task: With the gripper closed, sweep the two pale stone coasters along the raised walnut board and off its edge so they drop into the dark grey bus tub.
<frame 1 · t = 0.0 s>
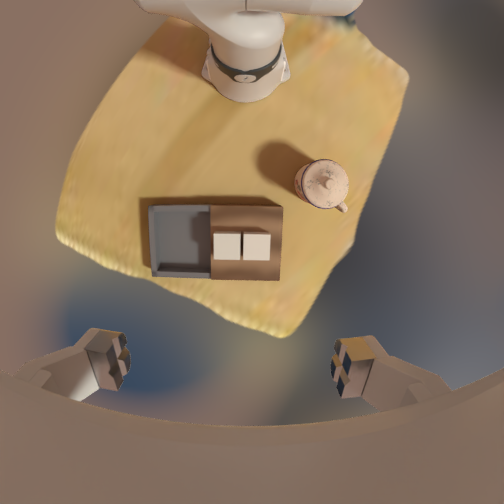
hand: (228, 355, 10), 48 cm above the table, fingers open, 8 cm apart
walnut board: (245, 240, 57), on the table
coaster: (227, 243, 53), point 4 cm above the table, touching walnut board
teacup with lid: (318, 188, 55), on the table
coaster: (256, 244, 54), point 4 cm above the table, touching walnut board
bus tub: (183, 239, 57), on the table
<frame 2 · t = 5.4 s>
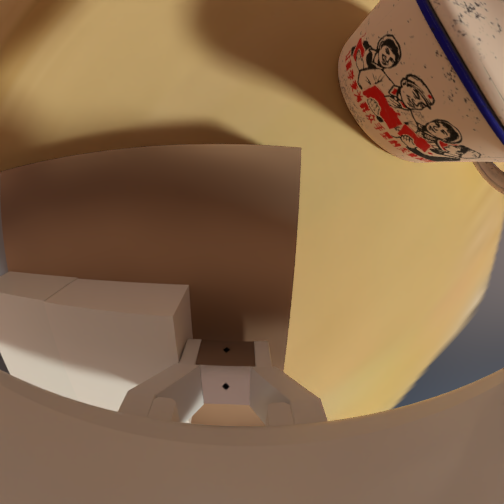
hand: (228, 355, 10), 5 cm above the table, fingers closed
walnut board: (148, 297, 14), on the table
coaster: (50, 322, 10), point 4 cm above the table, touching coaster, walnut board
teacup with lid: (417, 111, 12), on the table
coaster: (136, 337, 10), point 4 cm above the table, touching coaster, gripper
bus tub: (2, 279, 14), on the table
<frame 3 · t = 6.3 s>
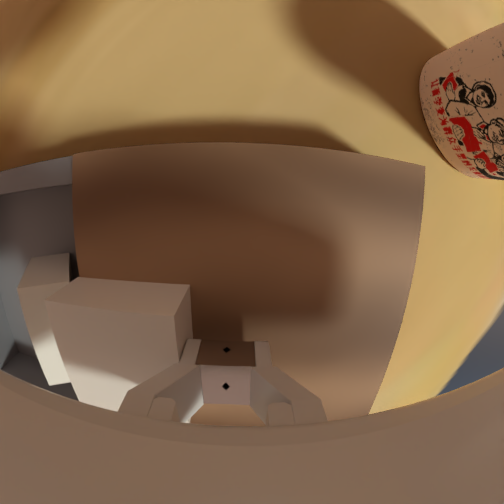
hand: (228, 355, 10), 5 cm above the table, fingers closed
walnut board: (244, 301, 14), on the table
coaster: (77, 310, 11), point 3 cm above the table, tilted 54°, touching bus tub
teacup with lid: (471, 132, 12), on the table
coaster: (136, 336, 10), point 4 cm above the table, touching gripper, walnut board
bus tub: (43, 285, 14), on the table
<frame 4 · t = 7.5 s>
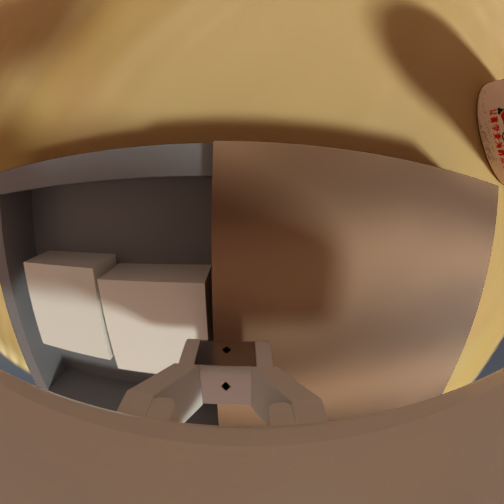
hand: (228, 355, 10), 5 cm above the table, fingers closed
walnut board: (347, 299, 15), on the table
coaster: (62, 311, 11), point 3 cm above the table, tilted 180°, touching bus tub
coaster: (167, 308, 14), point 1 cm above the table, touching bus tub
bus tub: (111, 292, 14), on the table
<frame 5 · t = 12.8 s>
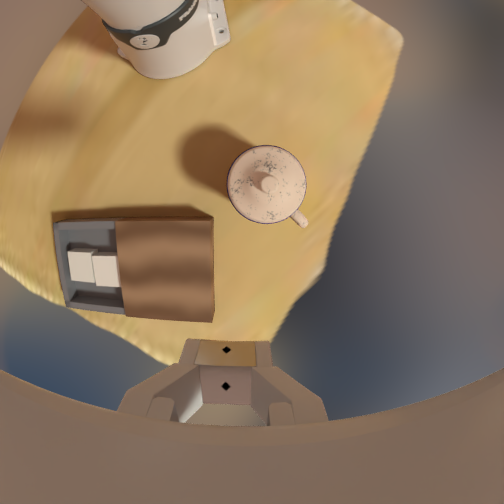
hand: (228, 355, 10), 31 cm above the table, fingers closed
walnut board: (169, 265, 41), on the table
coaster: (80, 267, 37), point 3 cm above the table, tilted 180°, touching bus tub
teacup with lid: (269, 190, 39), on the table
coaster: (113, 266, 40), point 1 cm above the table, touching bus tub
bus tub: (96, 262, 41), on the table
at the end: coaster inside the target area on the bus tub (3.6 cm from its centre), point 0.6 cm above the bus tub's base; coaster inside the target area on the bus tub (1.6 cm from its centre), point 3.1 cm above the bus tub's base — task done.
